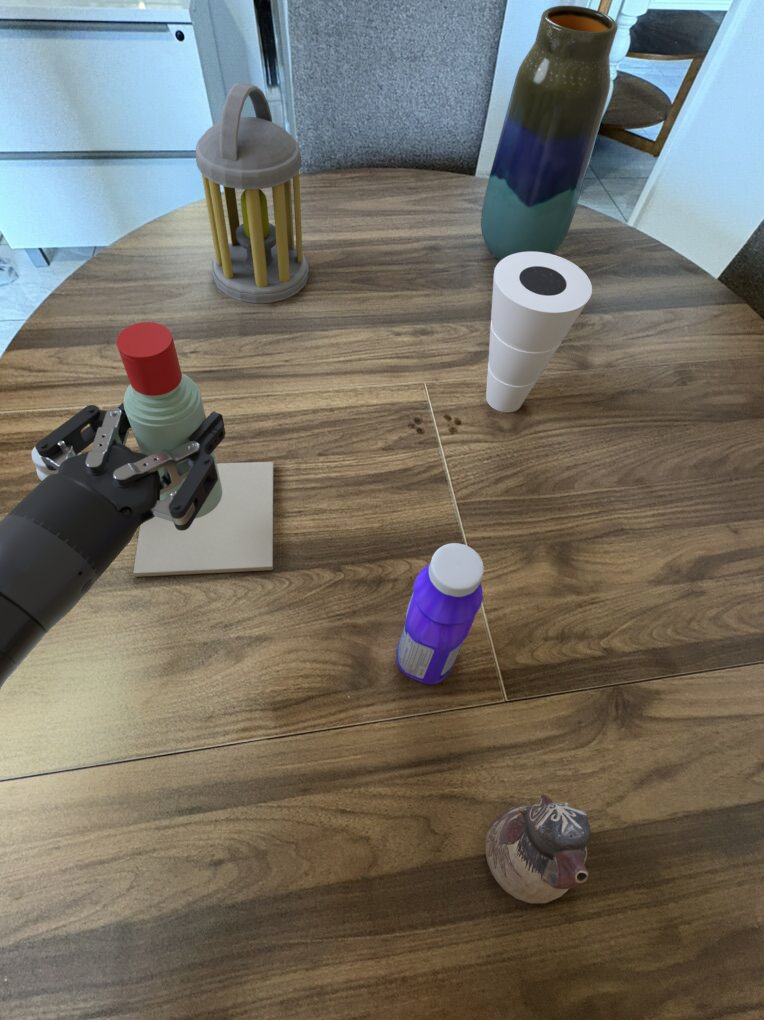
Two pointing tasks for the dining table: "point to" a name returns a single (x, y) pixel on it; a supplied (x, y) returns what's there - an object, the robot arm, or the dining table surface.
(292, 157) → the lantern
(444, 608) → the bottle
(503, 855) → the figurine
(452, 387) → the dining table surface
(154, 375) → the cap
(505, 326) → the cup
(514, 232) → the vase
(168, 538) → the coaster
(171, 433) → the water bottle
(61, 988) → the dining table surface
